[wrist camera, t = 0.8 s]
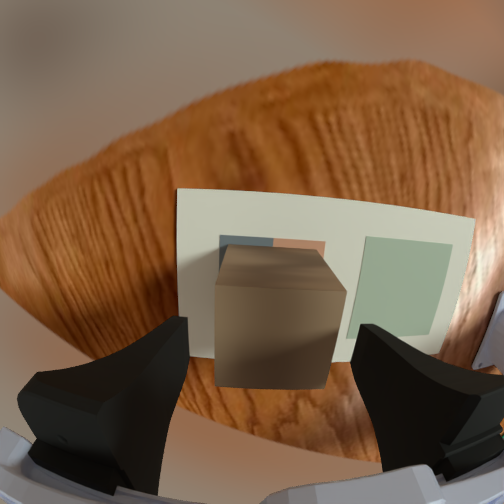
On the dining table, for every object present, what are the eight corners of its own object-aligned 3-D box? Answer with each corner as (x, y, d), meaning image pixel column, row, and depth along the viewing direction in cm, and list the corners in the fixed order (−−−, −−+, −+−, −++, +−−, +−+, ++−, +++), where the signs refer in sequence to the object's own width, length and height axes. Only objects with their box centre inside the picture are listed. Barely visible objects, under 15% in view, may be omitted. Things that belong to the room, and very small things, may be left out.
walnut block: (316, 249, 16) (347, 291, 11) (305, 325, 18) (324, 388, 12) (228, 243, 16) (214, 285, 11) (225, 322, 18) (214, 386, 12)
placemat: (473, 218, 16) (476, 219, 16) (437, 352, 19) (438, 353, 19) (178, 188, 16) (177, 188, 15) (182, 353, 19) (181, 355, 19)
